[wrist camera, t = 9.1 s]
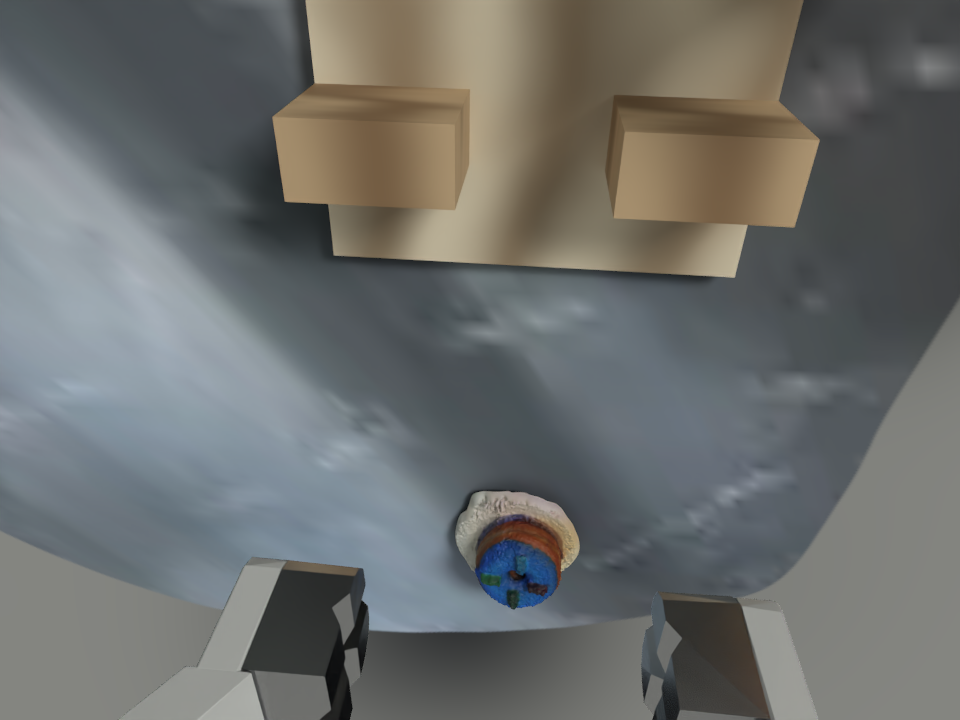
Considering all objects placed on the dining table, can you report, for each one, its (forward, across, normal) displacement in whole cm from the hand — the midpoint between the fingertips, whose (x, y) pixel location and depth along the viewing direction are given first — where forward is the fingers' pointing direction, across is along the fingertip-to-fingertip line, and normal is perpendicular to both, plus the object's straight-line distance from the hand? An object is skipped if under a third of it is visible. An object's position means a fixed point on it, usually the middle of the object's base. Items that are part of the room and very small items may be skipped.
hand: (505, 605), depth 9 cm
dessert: (+25, -2, +24) cm, 35 cm away
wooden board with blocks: (+24, 0, 0) cm, 24 cm away
